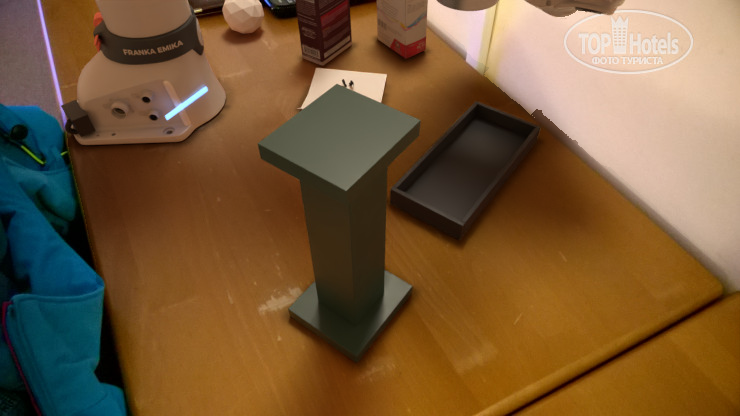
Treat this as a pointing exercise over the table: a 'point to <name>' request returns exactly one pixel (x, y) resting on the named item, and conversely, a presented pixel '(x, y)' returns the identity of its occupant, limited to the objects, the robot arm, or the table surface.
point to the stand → (345, 212)
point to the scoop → (468, 4)
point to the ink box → (402, 25)
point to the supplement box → (323, 28)
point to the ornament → (243, 15)
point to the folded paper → (346, 83)
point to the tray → (464, 169)
